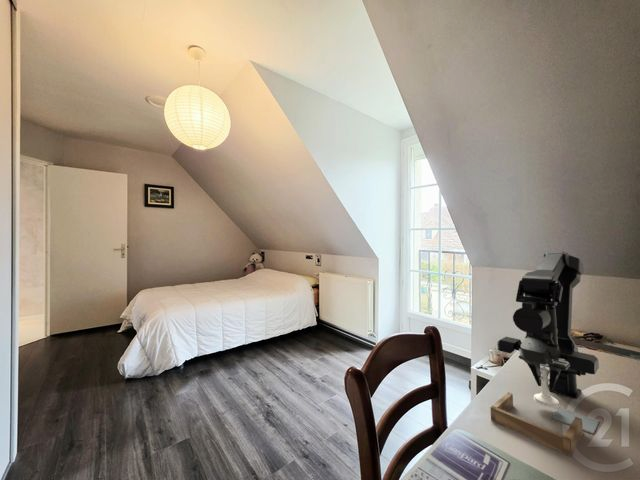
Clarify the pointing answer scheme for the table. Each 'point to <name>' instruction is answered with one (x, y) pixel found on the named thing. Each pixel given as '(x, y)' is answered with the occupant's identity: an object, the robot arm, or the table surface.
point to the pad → (569, 416)
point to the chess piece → (545, 390)
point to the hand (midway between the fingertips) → (545, 387)
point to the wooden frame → (536, 427)
